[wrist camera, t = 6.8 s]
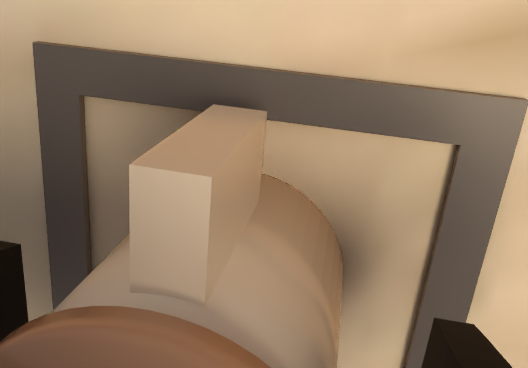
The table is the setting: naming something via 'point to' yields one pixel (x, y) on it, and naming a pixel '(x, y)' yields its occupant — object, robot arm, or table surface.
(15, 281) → the robot arm
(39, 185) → the table surface
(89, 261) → the tape outline
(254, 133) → the cylinder with tab
